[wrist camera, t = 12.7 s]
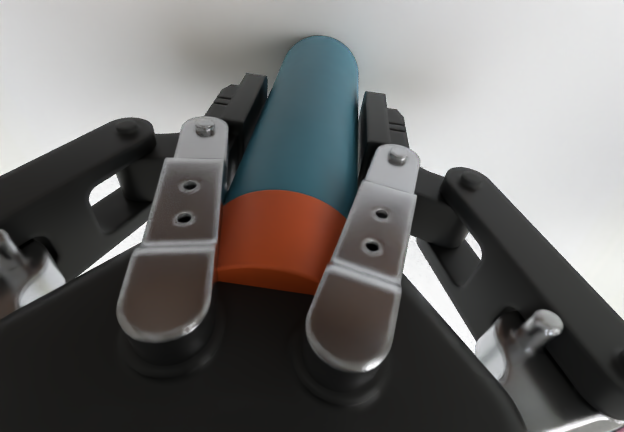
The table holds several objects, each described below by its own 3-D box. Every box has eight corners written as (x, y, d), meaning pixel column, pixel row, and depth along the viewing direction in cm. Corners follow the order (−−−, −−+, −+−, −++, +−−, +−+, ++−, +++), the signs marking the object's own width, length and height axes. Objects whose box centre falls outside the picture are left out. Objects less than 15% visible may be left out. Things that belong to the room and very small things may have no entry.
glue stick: (282, 27, 14) (164, 252, 6) (367, 40, 14) (379, 283, 6) (278, 107, 17) (192, 349, 8) (351, 118, 17) (342, 370, 8)
